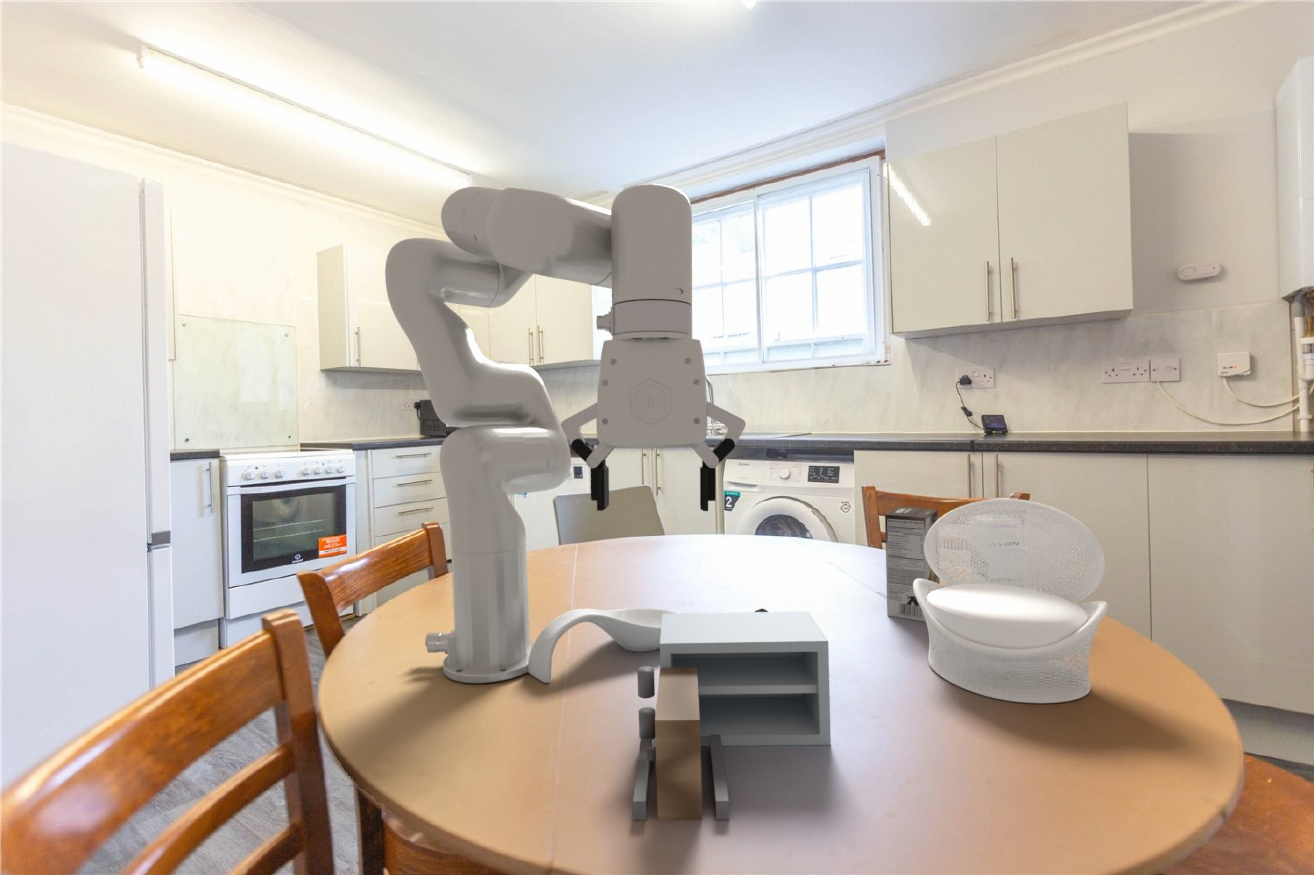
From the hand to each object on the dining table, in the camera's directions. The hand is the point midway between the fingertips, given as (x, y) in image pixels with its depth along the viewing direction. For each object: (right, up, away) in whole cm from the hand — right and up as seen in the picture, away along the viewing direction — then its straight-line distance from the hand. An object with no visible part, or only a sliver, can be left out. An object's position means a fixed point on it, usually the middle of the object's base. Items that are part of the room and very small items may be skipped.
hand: (653, 508), depth 57 cm
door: (+2, -23, -5) cm, 24 cm away
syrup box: (+55, -21, +40) cm, 72 cm away
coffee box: (+41, -21, +39) cm, 61 cm away
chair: (+42, -22, +15) cm, 50 cm away
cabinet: (+8, -23, 0) cm, 24 cm away
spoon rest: (-6, -23, +25) cm, 34 cm away
